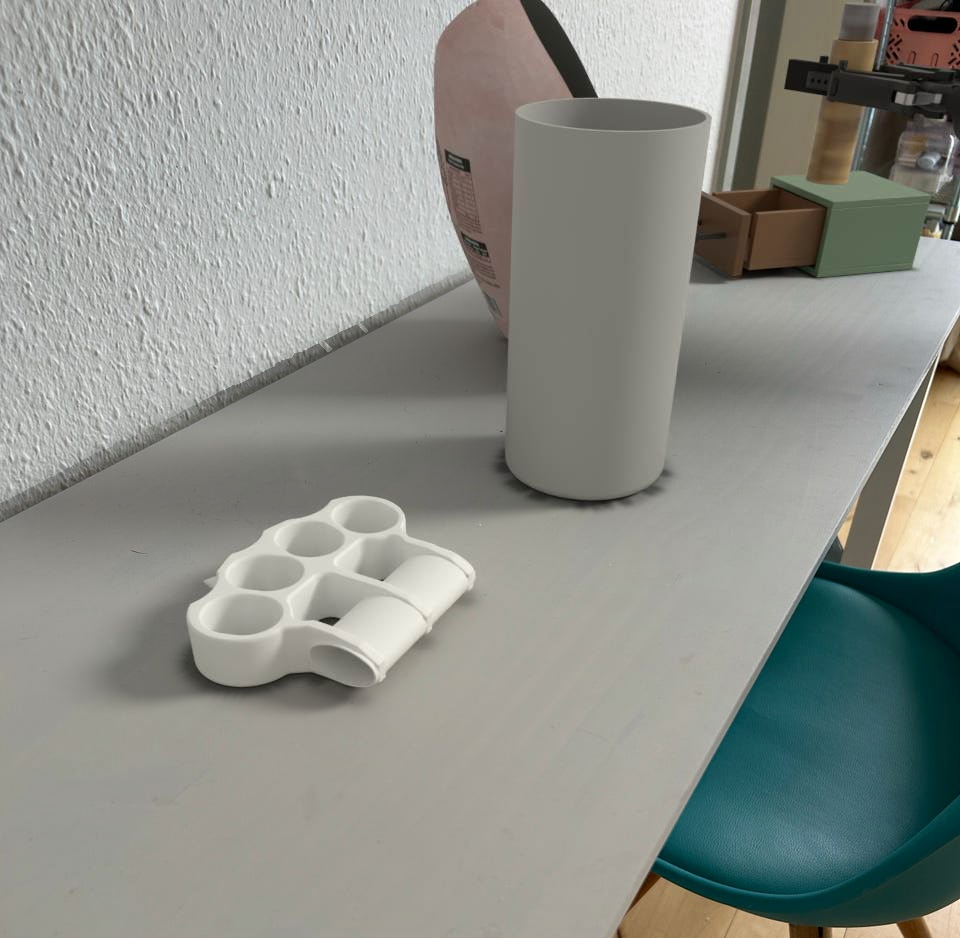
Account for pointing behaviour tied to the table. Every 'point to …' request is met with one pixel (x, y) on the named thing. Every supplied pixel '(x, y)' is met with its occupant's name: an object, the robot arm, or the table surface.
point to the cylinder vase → (599, 289)
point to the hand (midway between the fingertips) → (804, 72)
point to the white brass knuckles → (324, 598)
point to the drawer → (758, 229)
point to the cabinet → (863, 223)
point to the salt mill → (837, 118)
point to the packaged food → (494, 122)
